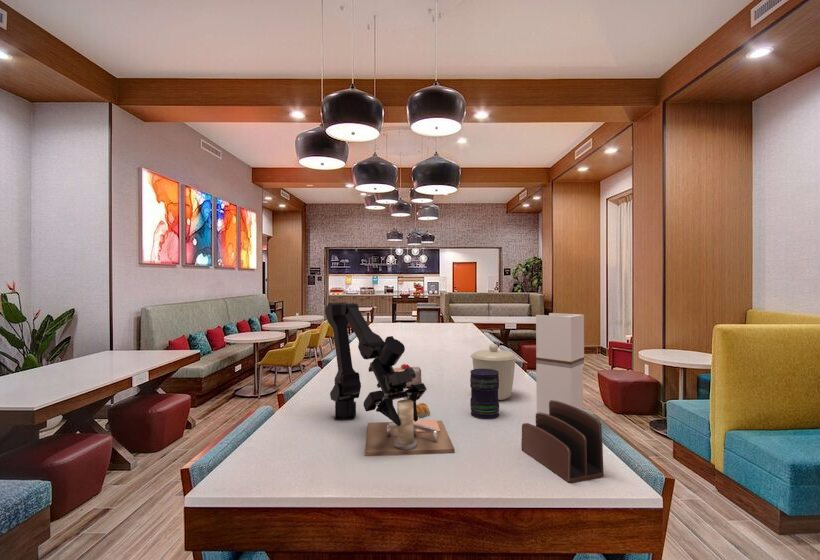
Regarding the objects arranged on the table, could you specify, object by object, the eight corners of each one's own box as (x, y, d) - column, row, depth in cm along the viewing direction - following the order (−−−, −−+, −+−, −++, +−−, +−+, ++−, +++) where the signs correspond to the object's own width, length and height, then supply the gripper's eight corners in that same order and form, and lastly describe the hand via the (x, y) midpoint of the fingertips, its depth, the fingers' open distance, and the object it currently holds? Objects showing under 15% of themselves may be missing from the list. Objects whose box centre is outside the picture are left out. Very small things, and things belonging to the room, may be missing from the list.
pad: (407, 433, 124) (407, 431, 124) (405, 422, 134) (405, 420, 134) (440, 432, 125) (440, 430, 125) (436, 421, 135) (436, 419, 135)
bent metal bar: (386, 436, 122) (386, 424, 122) (391, 432, 125) (390, 420, 125) (436, 442, 117) (436, 430, 117) (440, 438, 120) (439, 425, 120)
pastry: (411, 421, 138) (411, 410, 138) (398, 417, 143) (398, 405, 143) (431, 415, 144) (431, 404, 144) (418, 411, 149) (418, 400, 149)
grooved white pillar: (584, 421, 136) (583, 314, 136) (571, 430, 129) (570, 316, 129) (550, 414, 144) (550, 312, 144) (536, 422, 136) (536, 314, 136)
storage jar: (481, 421, 138) (481, 375, 138) (464, 413, 146) (464, 370, 146) (505, 416, 142) (505, 372, 142) (487, 408, 151) (487, 367, 151)
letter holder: (551, 446, 117) (551, 395, 117) (604, 477, 98) (604, 417, 98) (520, 450, 114) (520, 399, 114) (568, 484, 95) (568, 422, 95)
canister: (523, 395, 169) (523, 342, 169) (508, 406, 153) (507, 349, 153) (481, 389, 178) (481, 339, 178) (463, 399, 163) (463, 345, 163)
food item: (391, 389, 178) (391, 366, 178) (389, 385, 186) (388, 363, 186) (422, 388, 180) (422, 365, 180) (419, 383, 188) (418, 361, 188)
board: (365, 455, 111) (365, 452, 111) (367, 425, 134) (367, 422, 134) (454, 452, 113) (454, 449, 113) (441, 423, 136) (441, 420, 136)
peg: (394, 450, 112) (394, 405, 112) (393, 441, 118) (393, 399, 118) (418, 449, 112) (417, 405, 112) (416, 440, 119) (415, 398, 119)
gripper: (368, 362, 113) (392, 414, 104) (422, 355, 124) (447, 400, 115) (354, 386, 119) (375, 436, 110) (406, 376, 130) (429, 421, 121)
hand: (408, 423), depth 114 cm, fingers open, 5 cm apart
